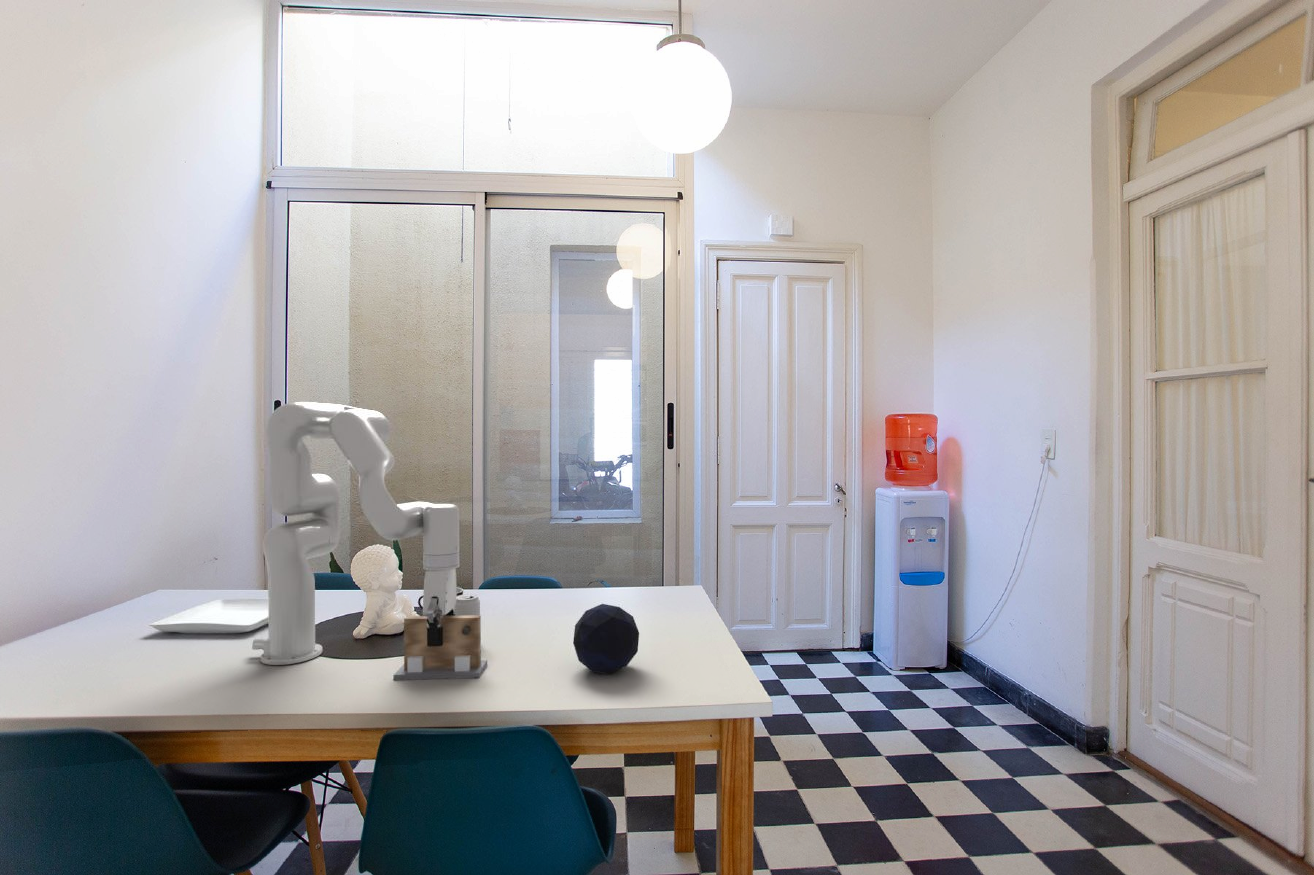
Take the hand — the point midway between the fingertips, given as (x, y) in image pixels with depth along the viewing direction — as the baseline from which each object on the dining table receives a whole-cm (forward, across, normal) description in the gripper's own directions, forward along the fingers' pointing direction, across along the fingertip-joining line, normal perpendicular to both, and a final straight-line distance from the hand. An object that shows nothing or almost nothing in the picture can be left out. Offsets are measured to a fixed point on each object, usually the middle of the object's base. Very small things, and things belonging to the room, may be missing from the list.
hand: (441, 638), depth 139 cm
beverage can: (+7, -18, +1) cm, 20 cm away
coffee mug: (+7, -33, -9) cm, 35 cm away
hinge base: (+7, 0, 0) cm, 7 cm away
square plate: (+8, -42, -69) cm, 81 cm away
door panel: (+6, 0, 0) cm, 6 cm away
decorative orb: (+7, +1, +36) cm, 37 cm away
